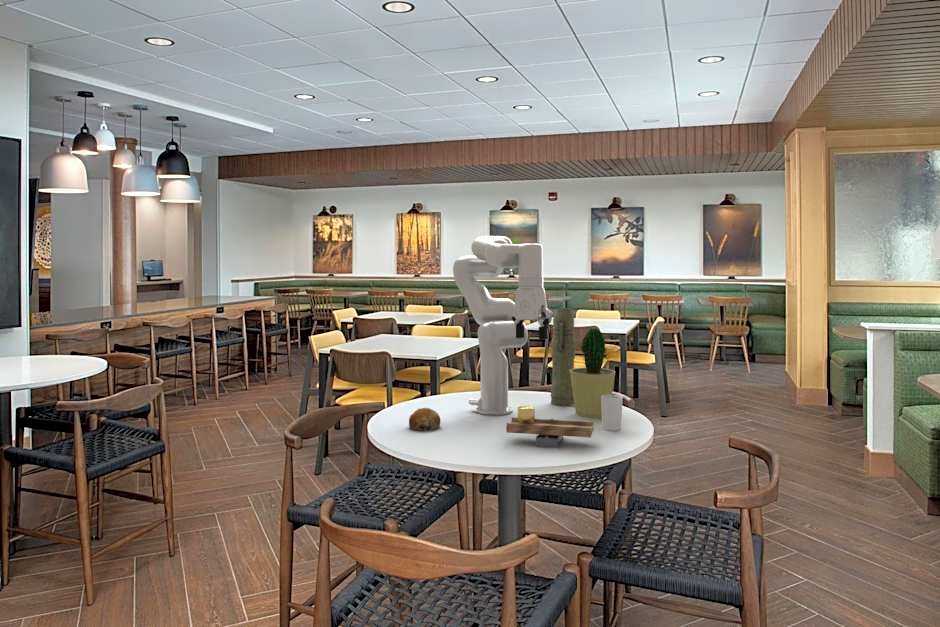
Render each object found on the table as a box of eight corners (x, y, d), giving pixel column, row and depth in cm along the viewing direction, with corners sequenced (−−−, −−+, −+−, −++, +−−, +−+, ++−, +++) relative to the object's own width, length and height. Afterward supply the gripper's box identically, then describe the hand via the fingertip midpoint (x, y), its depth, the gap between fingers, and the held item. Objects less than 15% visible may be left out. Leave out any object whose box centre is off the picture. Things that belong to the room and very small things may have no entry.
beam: (506, 432, 204) (506, 422, 204) (512, 425, 213) (512, 416, 213) (590, 437, 198) (590, 427, 198) (593, 430, 207) (593, 420, 207)
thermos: (575, 400, 267) (576, 307, 264) (574, 407, 255) (575, 309, 253) (551, 399, 268) (552, 307, 266) (549, 406, 257) (550, 309, 254)
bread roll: (443, 438, 226) (446, 413, 229) (431, 430, 217) (436, 405, 219) (414, 435, 229) (418, 410, 232) (401, 428, 220) (406, 402, 223)
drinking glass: (609, 431, 218) (610, 399, 218) (596, 427, 224) (596, 395, 223) (626, 429, 221) (627, 397, 221) (613, 424, 227) (613, 394, 227)
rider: (516, 426, 206) (516, 408, 205) (519, 422, 210) (519, 405, 210) (533, 426, 204) (533, 409, 204) (536, 423, 209) (536, 406, 209)
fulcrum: (536, 446, 201) (536, 436, 201) (543, 436, 212) (543, 426, 212) (557, 448, 199) (557, 437, 199) (563, 437, 211) (563, 427, 211)
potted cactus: (566, 408, 252) (567, 324, 250) (610, 409, 252) (611, 324, 249) (571, 418, 237) (572, 328, 234) (618, 418, 236) (619, 328, 234)
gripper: (502, 283, 224) (503, 338, 225) (543, 283, 212) (544, 341, 212) (519, 283, 230) (519, 336, 230) (560, 283, 217) (560, 339, 218)
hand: (531, 338), depth 221 cm, fingers open, 9 cm apart
